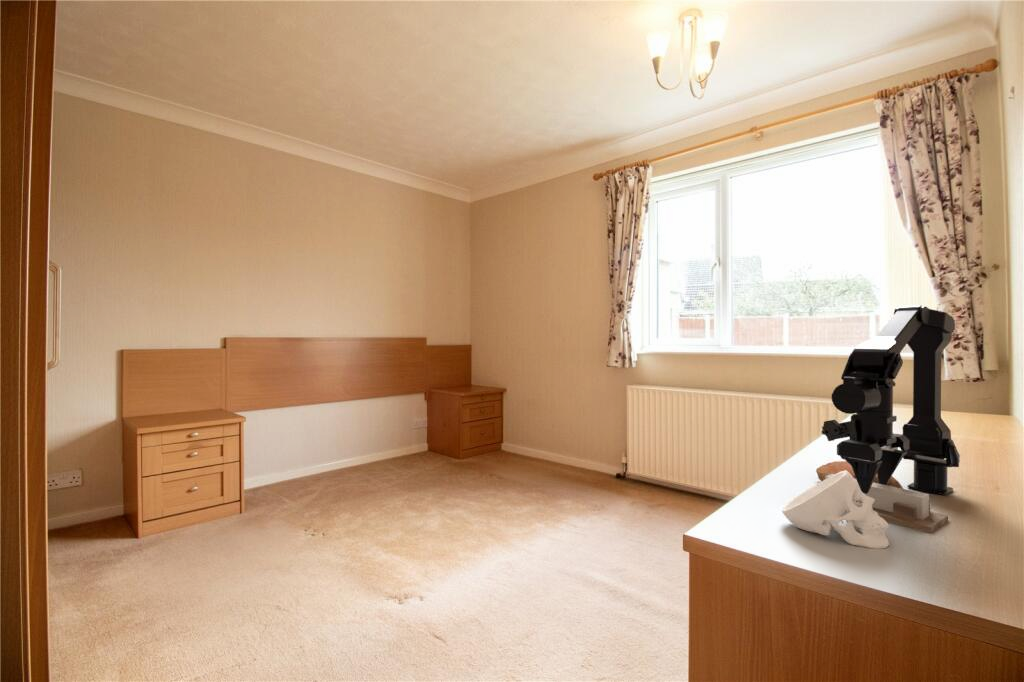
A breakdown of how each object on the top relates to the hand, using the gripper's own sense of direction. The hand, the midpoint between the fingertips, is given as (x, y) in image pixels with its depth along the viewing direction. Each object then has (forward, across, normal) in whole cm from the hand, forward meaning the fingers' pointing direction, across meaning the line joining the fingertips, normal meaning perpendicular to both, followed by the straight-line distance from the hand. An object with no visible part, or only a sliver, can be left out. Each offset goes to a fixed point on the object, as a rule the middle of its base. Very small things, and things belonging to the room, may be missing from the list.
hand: (873, 488), depth 94 cm
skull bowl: (+5, +20, 0) cm, 20 cm away
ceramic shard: (+5, -18, -10) cm, 21 cm away
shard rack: (+4, 0, 0) cm, 4 cm away
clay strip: (+3, 0, 0) cm, 3 cm away
